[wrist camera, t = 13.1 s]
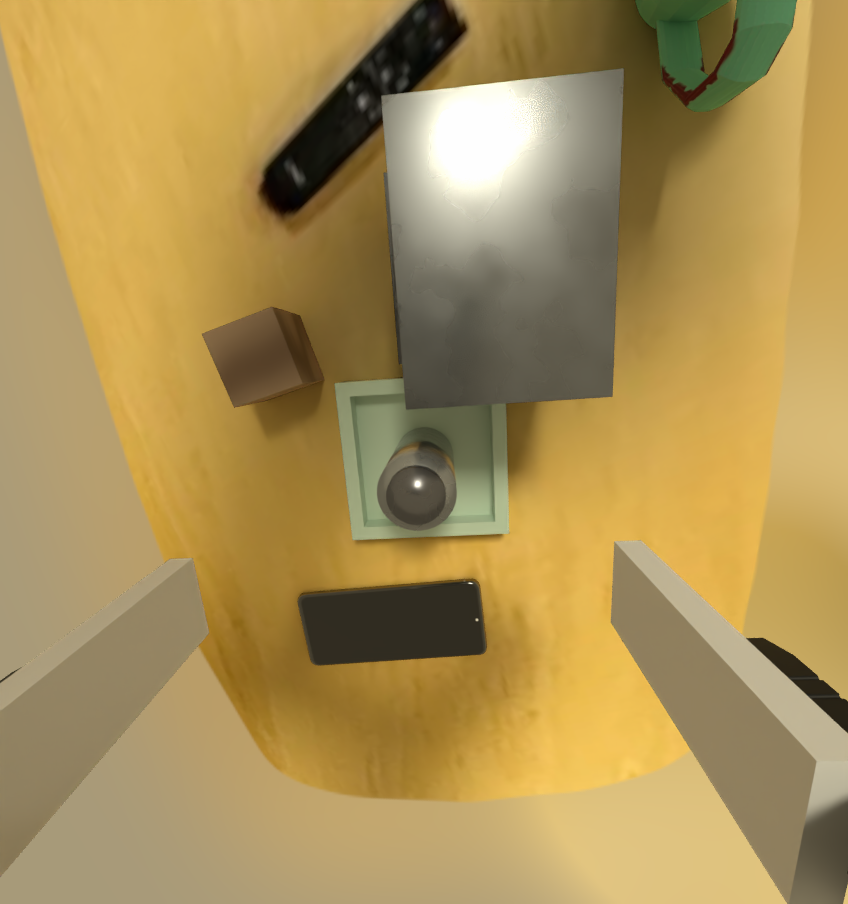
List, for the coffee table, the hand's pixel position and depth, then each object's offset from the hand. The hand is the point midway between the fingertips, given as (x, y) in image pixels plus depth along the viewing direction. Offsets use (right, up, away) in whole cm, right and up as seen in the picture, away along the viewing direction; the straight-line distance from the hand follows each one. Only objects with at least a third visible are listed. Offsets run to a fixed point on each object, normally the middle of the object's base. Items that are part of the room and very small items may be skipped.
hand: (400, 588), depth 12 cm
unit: (+5, +15, +16) cm, 23 cm away
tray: (+1, +4, +19) cm, 20 cm away
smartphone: (-2, -11, +23) cm, 26 cm away
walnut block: (-10, +11, +18) cm, 24 cm away
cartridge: (+1, +4, +18) cm, 19 cm away
